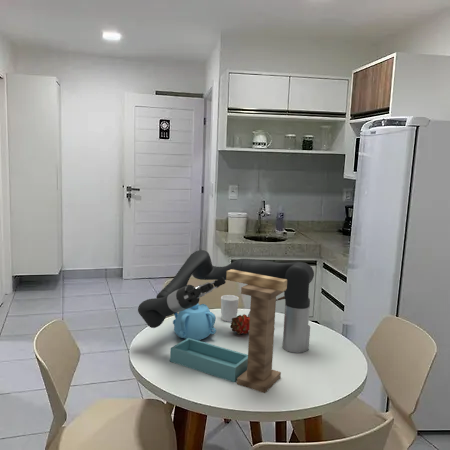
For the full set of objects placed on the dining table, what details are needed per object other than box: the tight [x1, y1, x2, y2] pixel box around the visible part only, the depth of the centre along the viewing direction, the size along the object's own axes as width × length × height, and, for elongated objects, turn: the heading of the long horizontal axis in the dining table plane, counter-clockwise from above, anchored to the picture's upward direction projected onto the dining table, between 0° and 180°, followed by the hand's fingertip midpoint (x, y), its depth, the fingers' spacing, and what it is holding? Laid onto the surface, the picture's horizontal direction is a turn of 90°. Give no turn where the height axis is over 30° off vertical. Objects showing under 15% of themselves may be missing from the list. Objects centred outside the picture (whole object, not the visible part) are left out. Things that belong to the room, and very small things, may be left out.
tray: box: [169, 338, 248, 383], centre depth 156 cm, size 26×11×5 cm, turn 60°
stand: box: [236, 284, 286, 394], centre depth 144 cm, size 10×12×32 cm
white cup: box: [220, 294, 240, 323], centre depth 201 cm, size 8×8×10 cm
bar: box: [225, 269, 287, 291], centre depth 143 cm, size 20×3×3 cm, turn 60°
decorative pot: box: [172, 302, 217, 341], centre depth 180 cm, size 16×16×14 cm
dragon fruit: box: [230, 313, 250, 336], centre depth 186 cm, size 8×8×12 cm
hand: (217, 282), depth 150 cm, fingers open, 8 cm apart
